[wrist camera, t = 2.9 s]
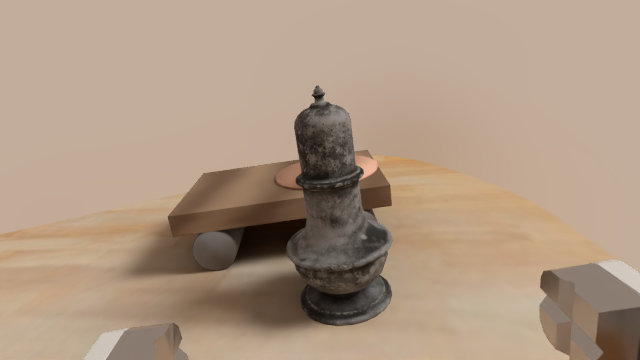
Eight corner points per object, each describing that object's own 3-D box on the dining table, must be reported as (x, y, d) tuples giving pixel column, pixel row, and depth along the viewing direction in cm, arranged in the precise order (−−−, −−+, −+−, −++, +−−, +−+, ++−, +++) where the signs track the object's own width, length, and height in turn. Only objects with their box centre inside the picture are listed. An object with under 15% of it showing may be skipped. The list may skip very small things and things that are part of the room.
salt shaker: (285, 284, 25) (248, 92, 21) (369, 259, 27) (349, 75, 23) (313, 343, 20) (271, 99, 16) (417, 306, 21) (401, 77, 17)
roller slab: (183, 275, 28) (166, 213, 26) (214, 218, 37) (203, 171, 36) (395, 245, 28) (389, 182, 26) (372, 196, 37) (367, 147, 36)
